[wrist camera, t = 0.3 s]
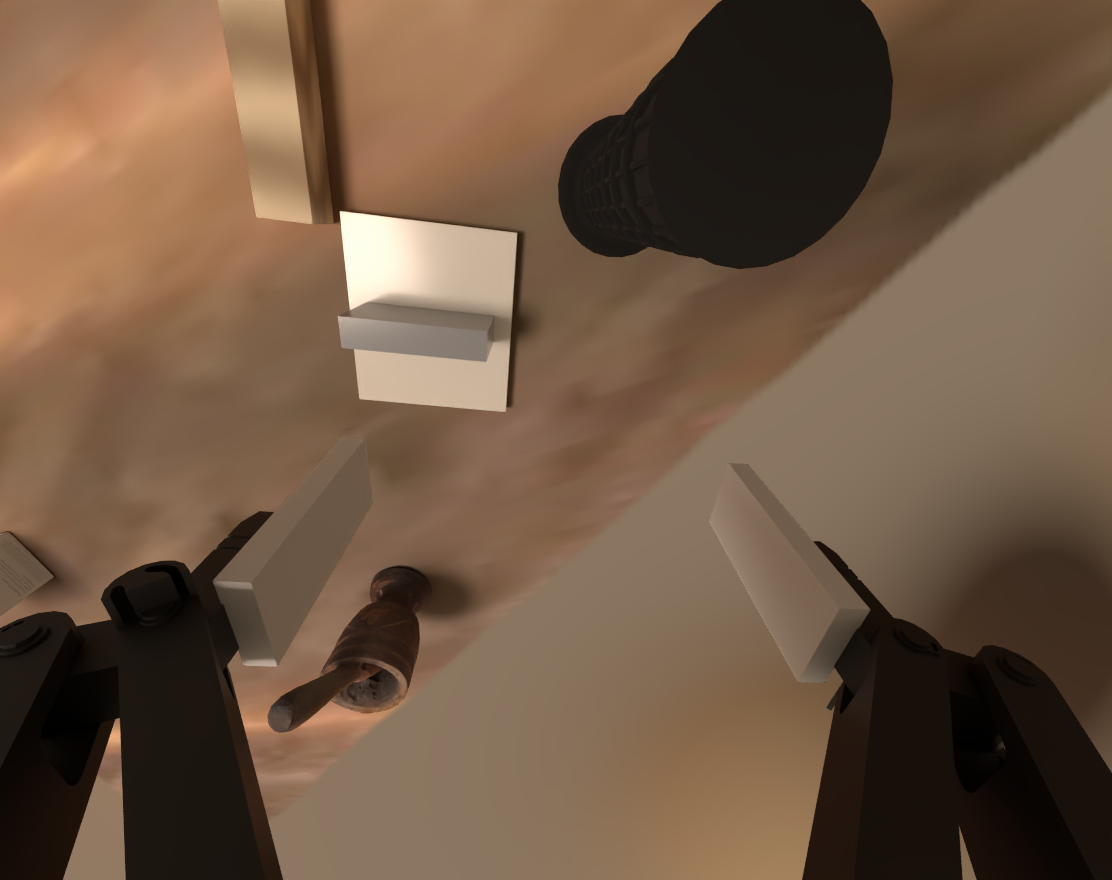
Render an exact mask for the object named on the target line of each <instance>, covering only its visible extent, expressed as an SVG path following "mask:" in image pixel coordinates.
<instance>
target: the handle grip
mask: <svg viewBox="0 0 1112 880" xmlns="http://www.w3.org/2000/svg"><path fill="white" fill-rule="evenodd" d="M892 85H893V78H892V72H891V66H890V60H889V54H888V48H887V43H886V41H885V39H884V36H883V34H882V32H881V30H880V28H879V26H878V24H877V22H876V19H875V17H874V15H873V13H872V11H871V10H870V9H869V8H868V7H867V6H866V5H865V4H864V3H863V2H862V1H861V0H722V1H721V2H719V3H718V4H717V5H716V6H715V7H714V8H713V9H712V10H711V11H710V12H709V13H708V14H707V15H706V16H705V17H704V18H703V19H702V20H701V21H700V22H699V23H698V24H697V25H696V26H695V27H694V28H693V29H692V31H691V32H690V33H689V34H688V36H687V37H686V39H685V41H684V42H683V44H682V45H681V47H680V49H679V50H678V52H677V54H676V55H675V57H674V58H672V59H671V60H670V61H669V62H668V63H667V64H666V65H665V66H664V67H663V68H662V69H661V70H660V71H659V73H658V74H657V75H656V76H655V77H654V78H653V79H652V80H651V81H650V83H649V85H648V86H647V88H646V90H644V91H643V92H642V93H641V94H640V95H639V96H638V97H637V99H636V100H635V102H634V103H633V105H632V106H631V108H630V109H629V110H628V111H627V112H626V113H625V114H624V115H614V116H608V117H606V118H604V119H602V120H600V121H597V122H595V123H593V124H592V125H591V126H590V127H588V128H587V129H586V130H585V131H583V132H582V133H581V134H580V135H579V136H578V138H577V139H576V140H575V142H574V143H573V144H572V146H571V147H570V148H569V150H568V152H567V155H566V157H565V159H564V162H563V164H562V167H561V172H560V178H559V183H558V191H559V204H560V208H561V212H562V216H563V219H564V221H565V223H566V225H567V227H568V229H569V231H570V233H571V234H572V235H573V236H574V237H575V238H576V239H577V240H578V241H579V242H580V243H581V244H582V245H583V246H585V247H586V248H588V249H589V250H591V251H592V252H594V253H597V254H600V255H604V256H607V257H624V256H628V255H632V254H636V253H638V252H640V251H641V250H643V249H645V248H647V247H653V248H656V249H660V250H664V251H668V252H673V253H675V254H678V255H683V256H689V257H695V258H702V259H704V260H706V261H708V262H710V263H712V264H714V265H720V266H726V267H731V268H737V269H744V268H754V267H763V266H768V265H771V264H774V263H777V262H779V261H782V260H785V259H787V258H790V257H793V256H795V255H796V254H798V253H799V252H801V251H803V250H804V249H806V248H807V247H809V246H810V245H812V244H813V243H815V242H817V241H818V240H820V239H821V238H822V237H823V236H824V235H825V234H826V233H827V232H828V231H829V230H830V229H831V228H832V227H833V226H834V225H835V224H836V223H837V222H838V221H840V220H841V219H842V218H843V217H844V215H845V214H846V213H847V211H848V210H849V208H850V207H851V206H852V204H853V203H854V202H855V200H856V199H857V197H858V196H859V195H860V193H861V192H862V190H863V189H864V188H865V186H866V184H867V181H868V179H869V177H870V175H871V173H872V171H873V169H874V167H875V165H876V162H877V160H878V158H879V156H880V154H881V151H882V147H883V143H884V139H885V136H886V132H887V128H888V124H889V121H890V116H891V100H892Z"/></svg>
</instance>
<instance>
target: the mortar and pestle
mask: <svg viewBox="0 0 1112 880" xmlns="http://www.w3.org/2000/svg"><path fill="white" fill-rule="evenodd" d="M430 595H431V586H430V584H429V582H428V581H427V580H426V579H425V578H424V577H423V576H421V575H420V574H418V573H417V572H415V571H413V570H409V569H404V568H390V569H385V570H382V571H380V572H379V573H378V574H376V575H375V577H374V578H373V581H372V583H371V588H370V597H371V601H372V603H371V604H369V605H367V606H366V607H364V608H363V609H362V610H360V612H359V613H358V614H357V615H356V616H355V617H354V618H353V619H352V621H351V622H350V623H349V624H348V626H347V627H346V628H345V629H344V631H343V633H342V634H341V636H340V638H339V640H338V642H337V644H336V646H335V648H334V650H333V652H332V654H331V655H330V657H329V659H328V661H327V662H326V664H325V665H324V667H323V669H322V671H321V674H320V677H319V678H317V679H315V680H313V681H310V682H308V683H307V684H304V685H302V686H299V687H297V688H295V689H293V690H292V691H290V692H288V693H286V694H284V695H283V696H281V697H280V698H279V699H278V700H277V701H276V702H275V703H274V704H273V705H272V706H271V708H270V711H269V713H268V723H269V725H270V727H271V728H272V729H273V730H274V731H276V732H279V733H282V732H288V731H292V730H293V729H295V728H297V727H299V726H300V725H301V724H303V723H304V722H305V721H307V720H308V719H309V718H311V717H312V716H313V715H314V714H315V713H317V712H318V711H319V710H320V709H321V708H322V707H323V706H325V705H326V704H327V703H328V702H329V701H330V700H331V701H332V702H334V703H336V704H338V705H340V706H342V707H344V708H347V709H350V710H353V711H358V712H360V713H373V712H380V711H385V710H388V709H391V708H393V707H394V706H396V705H398V704H399V702H400V701H401V700H403V699H404V697H405V695H406V693H407V690H408V688H409V685H410V681H411V677H412V673H413V669H414V665H415V662H416V659H417V655H418V650H419V642H420V635H419V623H418V619H417V617H416V615H415V614H416V613H417V612H419V611H420V610H421V609H422V608H423V607H424V606H425V605H426V603H427V602H428V600H429V597H430Z"/></svg>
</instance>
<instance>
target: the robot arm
mask: <svg viewBox="0 0 1112 880" xmlns="http://www.w3.org/2000/svg"><path fill="white" fill-rule="evenodd" d="M372 503H373V499H372V491H371V482H370V474H369V466H368V458H367V449H366V441H365V438H360V437H346V436H342V437H341V438H340V440H339V441H338V442H337V443H336V444H335V445H334V446H333V447H332V448H331V450H330V451H329V452H328V453H327V454H326V455H325V456H324V457H323V458H322V460H321V461H320V462H319V463H318V464H317V465H316V466H315V467H314V469H313V470H312V471H311V472H310V473H309V474H308V475H307V476H306V477H305V479H304V480H303V481H302V482H301V483H300V484H299V485H298V486H297V487H296V489H295V490H294V491H293V492H292V493H291V494H290V495H289V496H288V498H287V499H286V500H285V501H284V502H283V503H282V504H281V505H280V506H279V508H278V509H277V510H276V511H275V512H263V511H259V512H258V513H256V514H254V515H252V516H251V517H249V518H247V519H246V520H244V521H242V522H241V523H240V524H239V525H238V526H237V527H236V528H235V529H234V530H233V531H232V532H231V533H230V534H229V535H228V538H225V539H224V540H223V541H222V542H221V543H220V544H219V545H218V546H217V549H216V550H213V551H212V552H211V553H210V554H209V555H208V556H207V557H206V558H205V559H204V560H203V561H202V563H201V564H200V565H199V566H198V567H197V568H196V569H195V570H194V571H193V572H192V573H191V574H190V571H189V569H188V568H187V567H186V565H185V564H184V563H181V562H178V561H158V562H154V563H150V564H145V565H143V566H140V567H138V568H135V569H133V570H130V571H128V572H127V573H125V574H123V575H122V576H120V577H119V578H117V579H115V580H114V581H113V582H112V583H111V584H110V585H109V586H108V587H107V588H106V589H105V590H104V592H103V595H102V598H101V601H102V603H103V604H104V606H105V608H106V610H107V612H108V613H109V615H110V617H111V619H112V620H107V621H102V622H97V623H92V624H86V625H81V626H76V625H75V623H74V621H73V620H72V618H71V617H70V616H69V615H68V614H67V613H63V612H56V611H51V612H44V613H37V614H34V615H31V616H28V617H25V618H21V619H18V620H16V621H14V622H12V623H10V624H8V625H6V626H4V627H1V628H0V880H63V877H64V874H65V871H66V868H67V865H68V862H69V859H70V856H71V852H72V850H73V847H74V844H75V840H76V838H77V834H78V831H79V828H80V825H81V822H82V819H83V816H84V813H85V810H86V807H87V804H88V801H89V797H90V795H91V792H92V789H93V785H94V783H95V780H96V776H97V773H98V770H99V767H100V764H101V761H102V758H103V755H104V752H105V749H106V746H107V743H108V740H109V737H110V734H111V731H112V728H113V725H114V721H115V719H117V718H120V731H121V759H122V787H123V812H124V813H123V815H124V843H125V870H126V880H283V878H282V874H281V870H280V866H279V862H278V858H277V854H276V850H275V846H274V843H273V839H272V835H271V831H270V827H269V823H268V819H267V815H266V811H265V807H264V803H263V799H262V796H261V792H260V788H259V784H258V780H257V776H256V772H255V768H254V764H253V760H252V757H251V753H250V749H249V745H248V741H247V737H246V733H245V729H244V725H243V722H242V718H241V714H240V710H239V706H238V702H237V698H236V694H235V690H234V686H233V683H232V679H231V675H230V672H229V669H228V667H227V665H228V663H229V662H230V660H231V659H232V658H233V656H234V655H235V653H236V652H237V650H238V651H239V653H240V656H241V659H242V662H243V664H244V665H245V666H278V665H279V663H280V661H281V659H282V658H283V656H284V654H285V653H286V651H287V649H288V647H289V646H290V644H291V642H292V641H293V639H294V637H295V635H296V634H297V632H298V630H299V629H300V627H301V625H302V623H303V622H304V620H305V618H306V617H307V615H308V613H309V611H310V610H311V608H312V606H313V605H314V603H315V601H316V599H317V598H318V596H319V594H320V592H321V591H322V589H323V587H324V586H325V584H326V582H327V580H328V579H329V577H330V575H331V574H332V572H333V570H334V568H335V567H336V565H337V563H338V562H339V560H340V558H341V556H342V555H343V553H344V551H345V550H346V548H347V546H348V544H349V543H350V541H351V539H352V538H353V536H354V534H355V532H356V531H357V529H358V527H359V526H360V524H361V522H362V520H363V519H364V517H365V515H366V514H367V512H368V510H369V508H370V507H371V505H372ZM709 523H710V525H711V526H712V528H713V530H714V532H715V534H716V535H717V537H718V539H719V541H720V543H721V544H722V546H723V548H724V550H725V552H726V554H727V555H728V557H729V559H730V561H731V562H732V564H733V566H734V568H735V570H736V572H737V574H738V575H739V577H740V579H741V581H742V582H743V584H744V586H745V588H746V590H747V592H748V593H749V595H750V597H751V599H752V600H753V602H754V604H755V606H756V608H757V610H758V611H759V613H760V615H761V617H762V619H763V620H764V622H765V624H766V626H767V627H768V629H769V631H770V633H771V635H772V637H773V638H774V640H775V642H776V643H777V646H778V647H779V649H780V651H781V653H782V655H783V656H784V658H785V660H786V662H787V664H788V665H789V667H790V669H791V671H792V673H793V675H794V676H795V678H796V680H797V682H819V683H825V682H826V680H827V679H828V677H829V676H830V674H831V672H832V671H833V669H834V668H835V669H836V670H837V672H838V673H839V674H840V676H841V678H842V679H843V683H842V684H841V686H840V687H839V689H838V690H837V692H836V693H835V695H834V696H833V698H832V699H831V701H830V702H829V704H828V706H827V708H828V709H829V710H832V708H833V707H834V706H835V708H834V714H833V719H832V724H831V730H830V735H829V740H828V745H827V751H826V756H825V761H824V767H823V772H822V777H821V783H820V788H819V793H818V798H817V804H816V809H815V814H814V820H813V825H812V830H811V836H810V841H809V847H808V852H807V857H806V862H805V867H804V873H803V878H802V880H962V866H961V851H960V836H959V827H960V829H961V833H962V836H963V839H964V842H965V845H966V848H967V851H968V854H969V857H970V861H971V863H972V867H973V870H974V873H975V876H976V879H977V880H1112V773H1111V771H1110V769H1109V768H1108V766H1107V765H1106V763H1105V762H1104V760H1103V759H1102V757H1101V755H1100V754H1099V752H1098V751H1097V749H1096V748H1095V746H1094V745H1093V743H1092V741H1091V740H1090V738H1089V737H1088V735H1087V734H1086V732H1085V731H1084V729H1083V728H1082V726H1081V725H1080V723H1079V721H1078V720H1077V718H1076V717H1075V715H1074V714H1073V712H1072V711H1071V709H1070V707H1069V706H1068V704H1067V703H1066V701H1065V700H1064V698H1063V697H1062V695H1061V693H1060V692H1059V690H1058V689H1057V687H1056V686H1055V684H1054V683H1053V682H1052V681H1051V679H1050V678H1049V677H1048V676H1047V675H1046V673H1044V672H1043V671H1042V670H1041V669H1039V668H1038V667H1037V666H1036V665H1035V664H1033V663H1032V662H1031V661H1029V660H1028V659H1025V658H1024V657H1023V656H1021V655H1019V654H1017V653H1014V652H1012V651H1010V650H1008V649H1005V648H1002V647H998V646H994V645H989V646H983V647H982V649H981V650H980V651H979V652H978V653H977V655H976V656H975V657H971V656H967V655H964V654H960V653H957V652H954V651H950V650H946V649H943V647H942V646H941V645H940V644H939V643H938V641H937V640H936V639H935V638H934V637H932V636H931V635H930V634H929V633H928V632H926V631H925V630H923V629H921V628H920V627H918V626H916V625H914V624H913V623H910V622H907V621H905V620H902V619H896V618H893V617H892V615H891V614H890V613H889V612H888V611H887V610H886V609H885V608H884V606H883V605H882V604H881V603H880V602H879V601H878V600H877V598H875V596H874V595H873V594H872V593H871V592H870V591H869V590H868V588H867V587H866V586H865V585H864V584H863V583H862V581H861V580H858V577H857V576H856V575H855V574H854V573H853V571H852V570H851V569H848V566H847V565H846V563H845V562H844V561H843V560H842V559H841V558H840V557H839V556H838V554H837V553H835V552H834V551H833V550H831V549H830V548H828V547H827V546H826V545H824V544H823V543H822V542H819V541H812V540H811V538H810V537H809V536H808V535H807V534H806V532H805V531H804V530H803V529H802V528H801V527H800V525H799V524H798V523H797V522H796V521H795V519H794V518H793V517H792V516H791V515H790V514H789V512H788V511H787V510H786V509H785V508H784V506H783V505H782V504H781V503H780V502H779V500H778V499H777V498H776V497H775V496H774V495H773V493H772V492H771V491H770V490H769V489H768V487H767V486H766V485H765V484H764V483H763V481H762V480H761V479H760V478H759V477H758V476H757V474H756V473H755V472H754V471H753V470H752V468H751V467H750V466H749V465H748V464H734V463H728V466H727V469H726V472H725V475H724V478H723V482H722V484H721V487H720V490H719V493H718V496H717V499H716V502H715V505H714V508H713V511H712V514H711V518H710V520H709ZM1004 746H1005V749H1004Z"/></svg>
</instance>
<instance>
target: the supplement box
mask: <svg viewBox="0 0 1112 880" xmlns="http://www.w3.org/2000/svg"><path fill="white" fill-rule="evenodd" d="M53 577H54V576H53V575H52V574H51V573H50V572H49V571H48V570H47V569H46V568H45V567H44V566H43V565H42V564H41V563H40V562H39V561H38V560H37V559H36V558H35V557H34V556H33V555H32V554H31V553H30V552H29V551H28V550H27V549H26V548H25V547H24V546H23V545H22V544H21V543H20V542H19V541H18V540H17V539H16V538H15V537H14V536H13V535H11V534H10V533H9V532H5V533H1V534H0V616H1V615H3V614H4V613H5V612H7V611H8V610H10V609H11V608H12V607H14V606H15V605H16V604H18V603H19V602H20V601H22V600H23V599H25V598H26V597H27V596H29V595H30V594H31V593H33V592H34V591H36V590H37V589H38V588H40V587H41V586H42V585H44V584H45V583H46V582H48V581H49V580H50V579H52V578H53Z"/></svg>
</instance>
